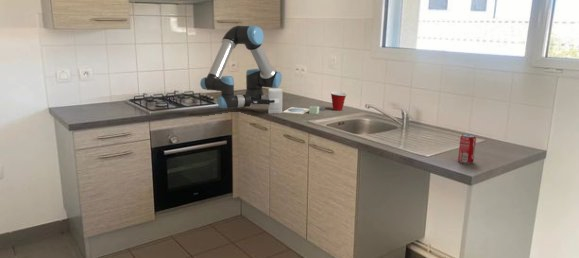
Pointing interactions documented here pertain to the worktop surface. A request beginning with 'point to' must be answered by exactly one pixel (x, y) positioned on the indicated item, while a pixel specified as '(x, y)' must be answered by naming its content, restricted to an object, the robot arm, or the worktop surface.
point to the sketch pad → (296, 110)
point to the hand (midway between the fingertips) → (274, 98)
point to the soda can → (467, 148)
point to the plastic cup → (338, 100)
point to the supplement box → (275, 95)
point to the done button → (314, 109)
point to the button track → (321, 109)
